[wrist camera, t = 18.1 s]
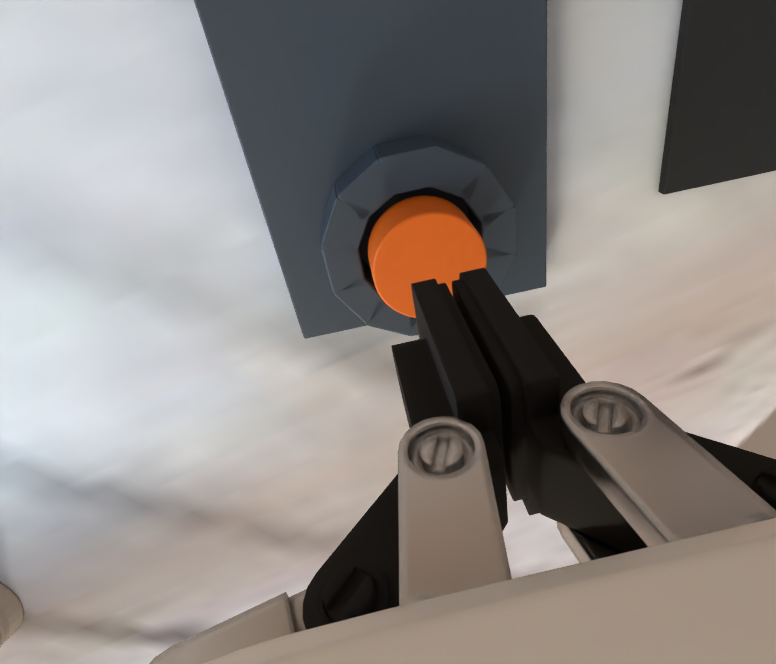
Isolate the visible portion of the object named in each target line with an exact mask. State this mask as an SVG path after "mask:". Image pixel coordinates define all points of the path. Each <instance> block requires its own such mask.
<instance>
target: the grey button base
mask: <svg viewBox="0 0 776 664" xmlns="http://www.w3.org/2000/svg"><path fill="white" fill-rule="evenodd" d="M194 2H195V5H196V8H197V11H198V14H199V17H200V20H201V23H202V26H203V29H204V32H205V35H206V39H207V42H208V45H209V48H210V51H211V54H212V57H213V60H214V63H215V66H216V69H217V72H218V75H219V78H220V82H221V85H222V88H223V91H224V94H225V97H226V100H227V103H228V106H229V109H230V112H231V115H232V118H233V121H234V124H235V128H236V131H237V134H238V137H239V140H240V143H241V146H242V149H243V152H244V155H245V158H246V161H247V164H248V167H249V170H250V174H251V177H252V180H253V183H254V186H255V189H256V192H257V195H258V198H259V201H260V204H261V207H262V210H263V213H264V216H265V220H266V223H267V226H268V229H269V232H270V235H271V238H272V241H273V244H274V247H275V250H276V253H277V256H278V259H279V263H280V266H281V269H282V272H283V275H284V278H285V281H286V284H287V287H288V290H289V293H290V296H291V299H292V302H293V305H294V309H295V312H296V315H297V318H298V321H299V324H300V327H301V330H302V333H303V336H304V338H311V337H315V336H320V335H324V334H329V333H334V332H338V331H343V330H348V329H352V328H357V327H361V326H366V325H368V326H372V327H376V328H380V329H384V330H388V331H392V332H396V333H400V334H404V335H409V336H414V335H419V332H418V326H417V320H416V318H414V317H409V316H406V315H403V314H401V313H399V312H397V311H395V310H394V309H392V308H391V307H389V306H388V305H387V304H386V303H385V302H384V301H383V300H382V298H381V297H380V295H379V294H378V292H377V290H376V288H375V285H374V281H373V277H372V272H371V268H370V263H369V258H368V241H369V237H370V234H371V231H372V229H373V227H374V225H375V223H376V222H377V220H378V219H379V218H380V216H381V215H382V214H383V213H384V212H385V211H386V210H387V209H388V208H390V207H391V206H392V205H394V204H396V203H397V202H399V201H401V200H404V199H406V198H410V197H414V196H420V195H429V196H436V197H440V198H443V199H445V200H448V201H449V202H451V203H453V204H454V205H456V206H457V207H458V208H459V209H460V210H461V211H462V212H463V213H464V214H465V216H466V217H467V218H468V220H469V221H470V222H471V223H472V225H473V226H474V227H475V229H476V230H477V231H478V233H479V234H480V236H481V238H482V240H483V242H484V245H485V248H486V255H487V264H486V270H487V272H488V273H489V274H490V276H491V277H492V279H493V280H494V282H495V283H496V284H497V286H498V287H499V289H500V290H501V292H502V293H503V295H504V296H505V295H509V294H514V293H518V292H523V291H528V290H532V289H537V288H541V287H545V286H546V160H547V0H194Z"/></svg>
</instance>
